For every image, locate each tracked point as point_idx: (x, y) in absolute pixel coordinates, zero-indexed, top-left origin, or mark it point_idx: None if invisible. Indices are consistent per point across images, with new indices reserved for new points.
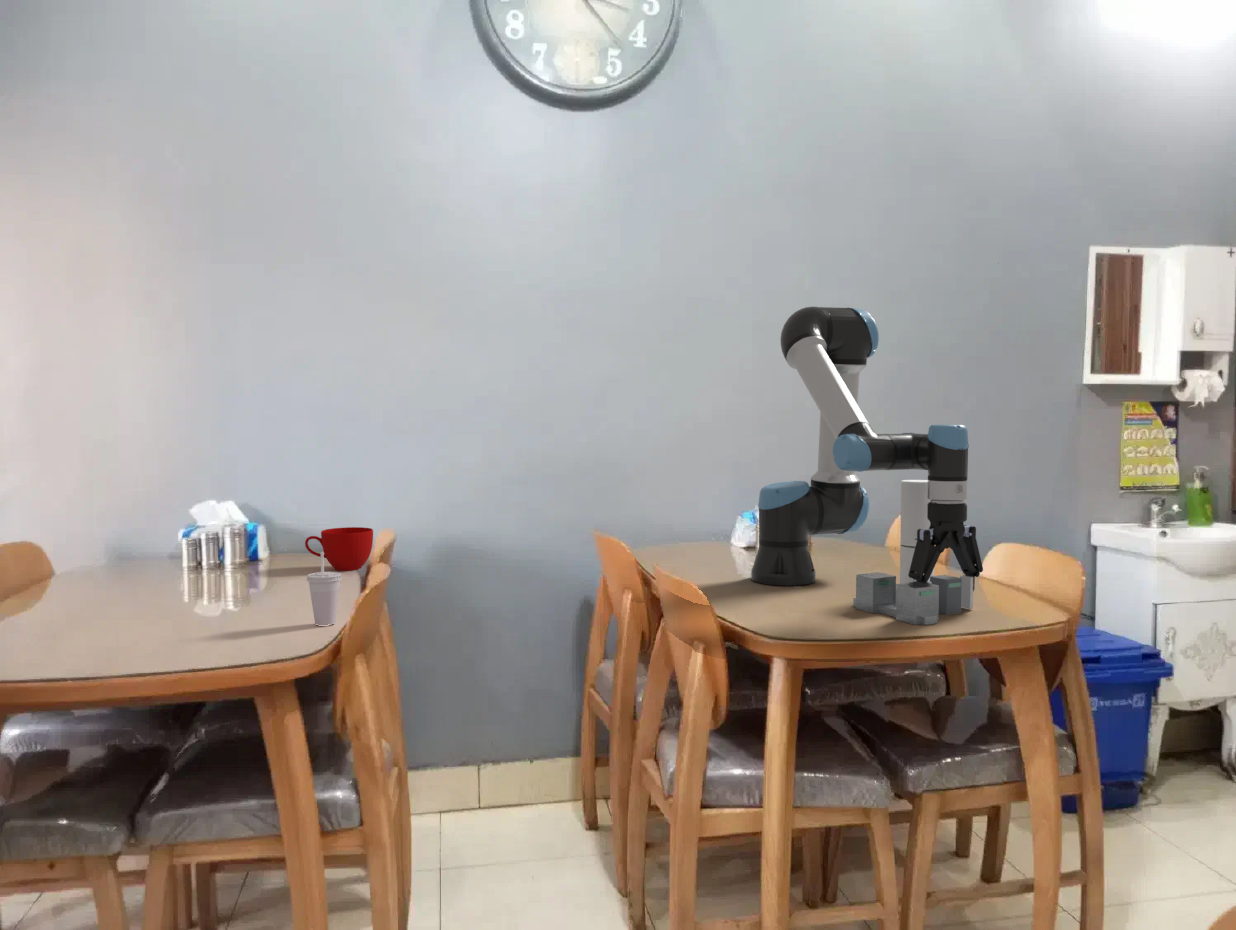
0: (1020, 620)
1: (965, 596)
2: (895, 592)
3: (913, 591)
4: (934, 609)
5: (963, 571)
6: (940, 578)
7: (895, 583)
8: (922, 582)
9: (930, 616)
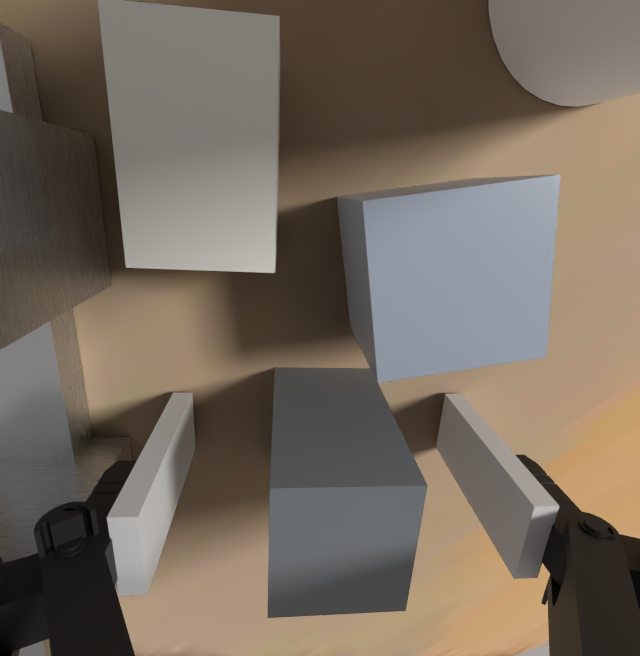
0: (430, 612)
1: (463, 456)
2: (56, 315)
3: None
4: None
5: (568, 540)
6: (272, 569)
7: (14, 338)
8: None
9: None
